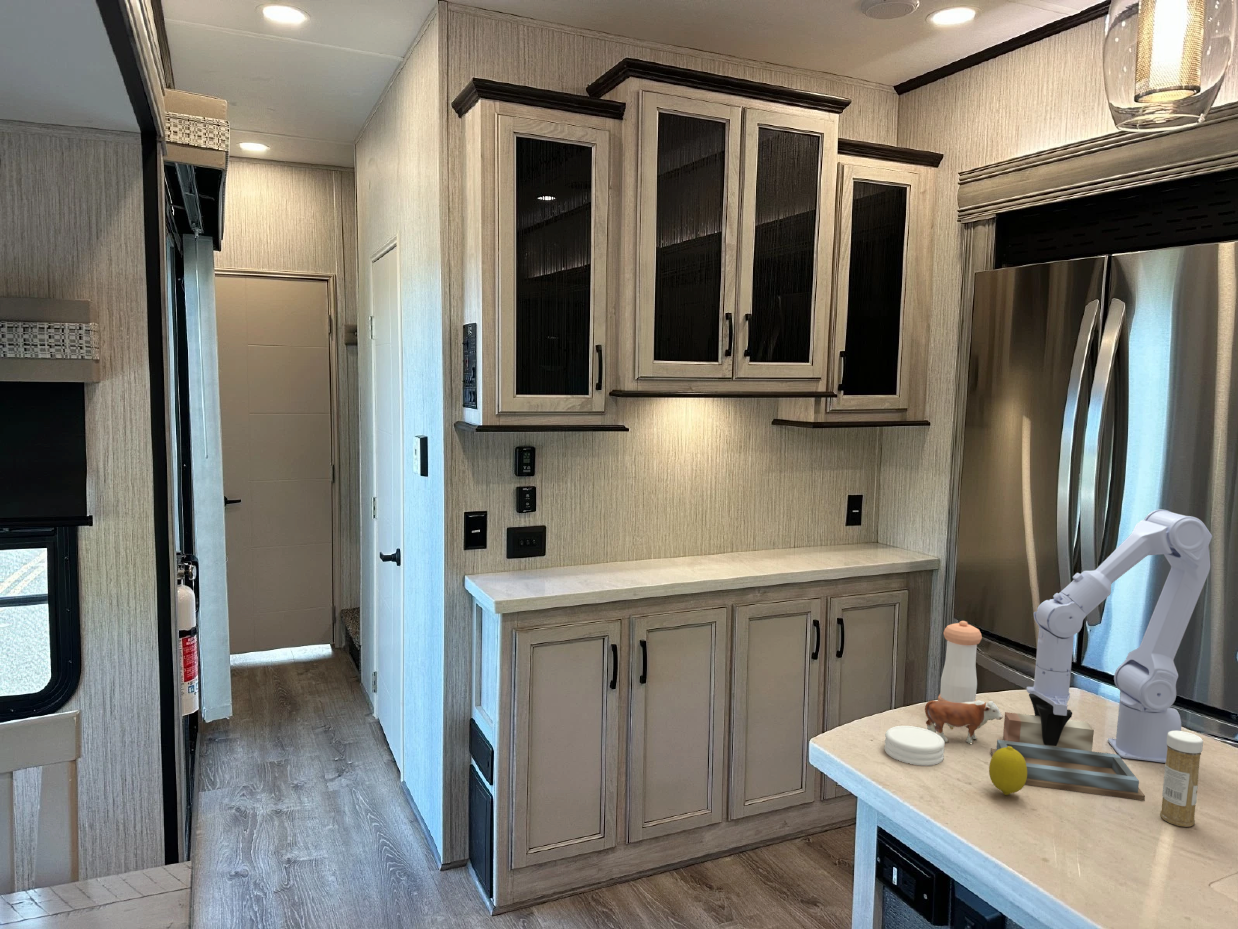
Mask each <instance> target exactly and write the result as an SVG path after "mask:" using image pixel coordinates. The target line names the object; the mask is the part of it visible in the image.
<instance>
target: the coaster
mask: <svg viewBox="0 0 1238 929" xmlns="http://www.w3.org/2000/svg"><path fill="white" fill-rule="evenodd" d="M884 736H885V740H884V751H885V753H886V754H887V756H889V757H891V758H892V759H894V760H896V761H898V760H899V761H898V762H901V761H902V762H901V763H904V764H908V763H910V764H909V765H912V764H913V765H915V766H923V767H926V766H927V767H929V766H935V765H938V764H940V763H942V762H943V760H944V758H945V755H944V753H945V745H946V743H945V742H944V740H943V738H942V737H941V736H940V735H939V733H937V732H936V733H935V732H932V731H930V730H928V729H927V728H923V727H919V726H912V725H897V726H892V727H890V728H888V729H887V730H886V732H885V734H884Z"/></svg>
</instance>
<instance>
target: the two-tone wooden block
mask: <svg viewBox="0 0 1238 929" xmlns="http://www.w3.org/2000/svg"><path fill="white" fill-rule="evenodd" d="M1094 734H1095V729H1094V728H1093V726H1092V725H1091V724H1090V723H1089V721H1087V720H1086V721H1084V720H1075V719H1069V720H1068V721H1067V723H1066V724H1065V726H1064V728H1063V730H1062V733H1061V736H1060V738H1059V741H1058V744H1057V746H1053V747H1061V748H1069V749H1077V750H1085V751H1093V743H1094ZM1002 740H1004V741H1012V742H1021V743H1029V744H1037V745H1044V743H1043V739H1042V725H1041V719H1040V716H1035V714H1034V715H1031V714H1026V713H1025V714H1024V713H1016V712H1010V711H1009V712H1008V711H1005V712H1004V720H1003V732H1002ZM1045 746H1051V745H1045Z"/></svg>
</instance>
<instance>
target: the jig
mask: <svg viewBox="0 0 1238 929" xmlns="http://www.w3.org/2000/svg"><path fill="white" fill-rule="evenodd" d="M1008 746H1011V747H1012V748H1013V749H1015V750H1017V751H1018V752H1019V753H1020V754H1021V755H1022V756H1023V757H1024V759H1025V762H1026V766H1027V779H1026V782H1025V785H1024V786H1034V787H1041V788H1048V789H1055V790H1062V791H1063V790H1064V791H1070V792H1071V791H1072V792H1076V793H1077V792H1078V793H1085V794H1092V795H1093V794H1094V795H1100V796H1108V797H1115V798H1122V799H1131V800H1138V801H1143V802H1144V801H1145V799H1146V795H1145V793H1144V792H1143V791H1142V790H1141V789H1140V787H1139V786H1140V785H1139V784H1140V780H1139V779H1138V778H1137V777H1136V775H1135V774H1134V773H1133V771H1132V770H1131V769H1130V767H1129V766H1128V765H1127V764H1126V763H1125V762H1124V760H1123V758H1122V757H1120V756H1119V754H1118V753H1108V752H1099V751H1093V750H1092V751H1085V750H1077V749H1069V748H1061V747H1053V746H1045V745H1037V744H1029V743H1021V742H1012V741H1004V739H997V741H996V748H993V747H992V748H990V752H991V753H990V754H992V755H991V757H992V756H993V754H994V753H995V752H996V751H997V750H999V749H1001V748H1005V747H1008Z"/></svg>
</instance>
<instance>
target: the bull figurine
mask: <svg viewBox="0 0 1238 929" xmlns="http://www.w3.org/2000/svg"><path fill="white" fill-rule="evenodd" d="M924 706H925V707H924V713H925V716H926V718H927V720H926V721H925V724H926V727H927V728H926V729H927V730H930V731H932V732H935V733H936V734H938V735H939V736H941V737H942V738H943V740H944V742H948V743H949V742H950V741H949V739H948V737H947V736H946V735H945V734H944V729H943V728H944V726H945V724H946V725H947V726H948V727H949V729H950V730H951V731H952V730H954V728H959V727H965V728H966V729H968V731H967V737H966V739H965V741H966V742H967V743H968V744H969V743H972V744H971V745H974V742H973V739H978V737H977V736H976V733H975V732H976V731H977V730H979V729H980V728H982V726H984V725H986V724H987V723H988V721H994V720H998V721H1000V720H1003V718H1004V715H1003V714H1002V713H1001V711H1000V708H999V707H998V706H997V704H996V703H994V701H993V700H989V701H988V702H985V701H983V700H977V699H976V701H974V702H963V703H954V702H943V701H938V700H929V701H928V702H926V704H925V705H924Z"/></svg>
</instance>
